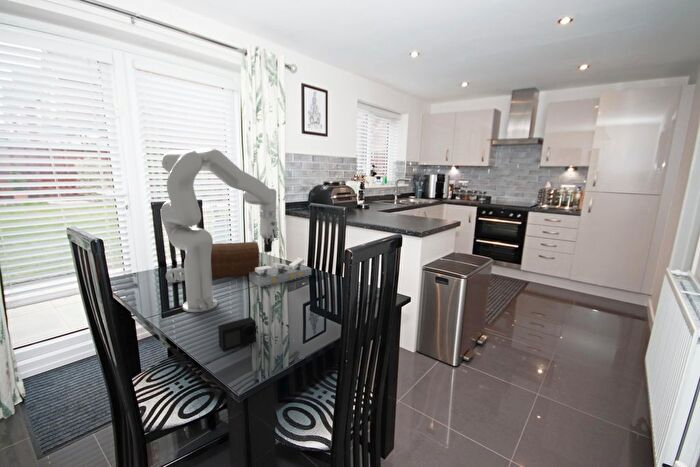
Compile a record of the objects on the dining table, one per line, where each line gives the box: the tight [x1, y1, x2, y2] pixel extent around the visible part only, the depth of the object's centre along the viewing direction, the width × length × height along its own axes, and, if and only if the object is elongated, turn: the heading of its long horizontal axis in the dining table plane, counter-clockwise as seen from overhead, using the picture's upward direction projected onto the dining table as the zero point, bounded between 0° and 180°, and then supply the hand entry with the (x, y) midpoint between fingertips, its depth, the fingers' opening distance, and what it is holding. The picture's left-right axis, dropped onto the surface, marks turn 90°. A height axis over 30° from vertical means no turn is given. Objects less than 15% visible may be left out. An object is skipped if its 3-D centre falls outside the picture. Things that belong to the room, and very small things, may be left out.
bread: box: [211, 241, 260, 279], centre depth 167 cm, size 18×30×16 cm, turn 111°
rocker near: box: [255, 265, 273, 273], centre depth 155 cm, size 5×7×2 cm, turn 131°
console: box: [248, 264, 312, 288], centre depth 162 cm, size 12×29×5 cm, turn 131°
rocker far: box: [288, 257, 306, 269], centre depth 167 cm, size 5×7×2 cm, turn 131°
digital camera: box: [217, 316, 258, 353], centre depth 98 cm, size 10×5×7 cm, turn 129°
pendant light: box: [165, 255, 185, 283], centre depth 151 cm, size 9×9×30 cm
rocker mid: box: [272, 262, 290, 270], centre depth 161 cm, size 5×7×2 cm, turn 131°
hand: (267, 251), depth 155 cm, fingers closed
